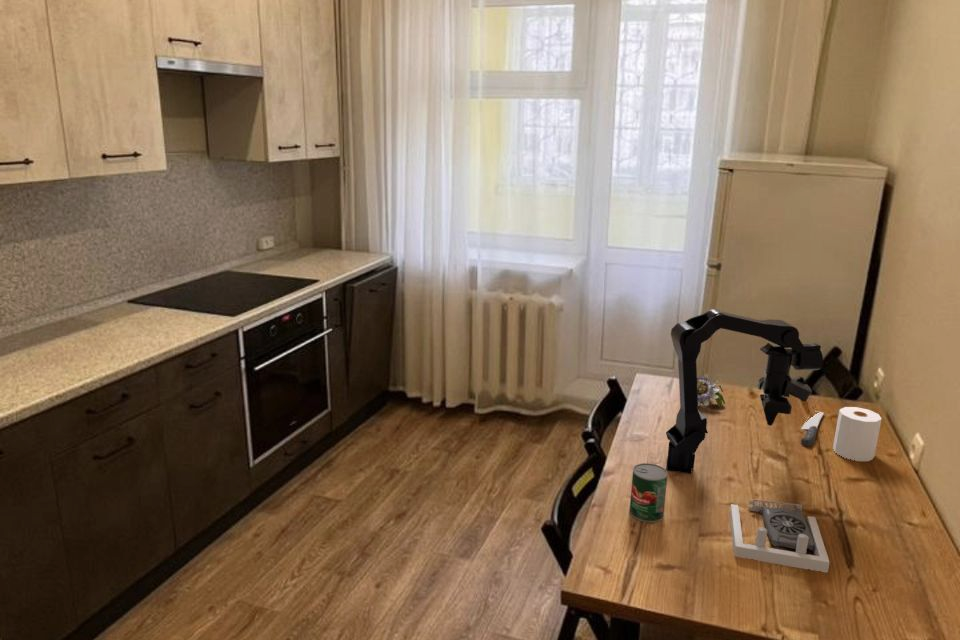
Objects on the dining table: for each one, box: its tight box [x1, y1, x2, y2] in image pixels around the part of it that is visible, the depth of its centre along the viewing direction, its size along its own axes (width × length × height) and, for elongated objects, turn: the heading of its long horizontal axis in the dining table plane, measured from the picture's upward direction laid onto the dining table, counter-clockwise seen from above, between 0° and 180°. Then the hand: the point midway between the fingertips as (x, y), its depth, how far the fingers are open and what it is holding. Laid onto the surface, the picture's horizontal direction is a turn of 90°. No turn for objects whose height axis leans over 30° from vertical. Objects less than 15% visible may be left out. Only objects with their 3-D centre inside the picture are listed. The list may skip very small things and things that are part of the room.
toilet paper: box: [832, 406, 882, 462], centre depth 193 cm, size 10×10×12 cm
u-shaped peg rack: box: [729, 503, 831, 574], centre depth 152 cm, size 18×18×6 cm
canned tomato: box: [628, 462, 669, 523], centre depth 161 cm, size 8×8×11 cm
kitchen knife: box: [800, 411, 825, 448], centre depth 210 cm, size 29×3×5 cm
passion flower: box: [697, 373, 726, 408], centre depth 226 cm, size 11×11×12 cm
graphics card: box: [747, 499, 815, 551], centre depth 156 cm, size 17×4×12 cm
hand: (769, 424), depth 183 cm, fingers closed
